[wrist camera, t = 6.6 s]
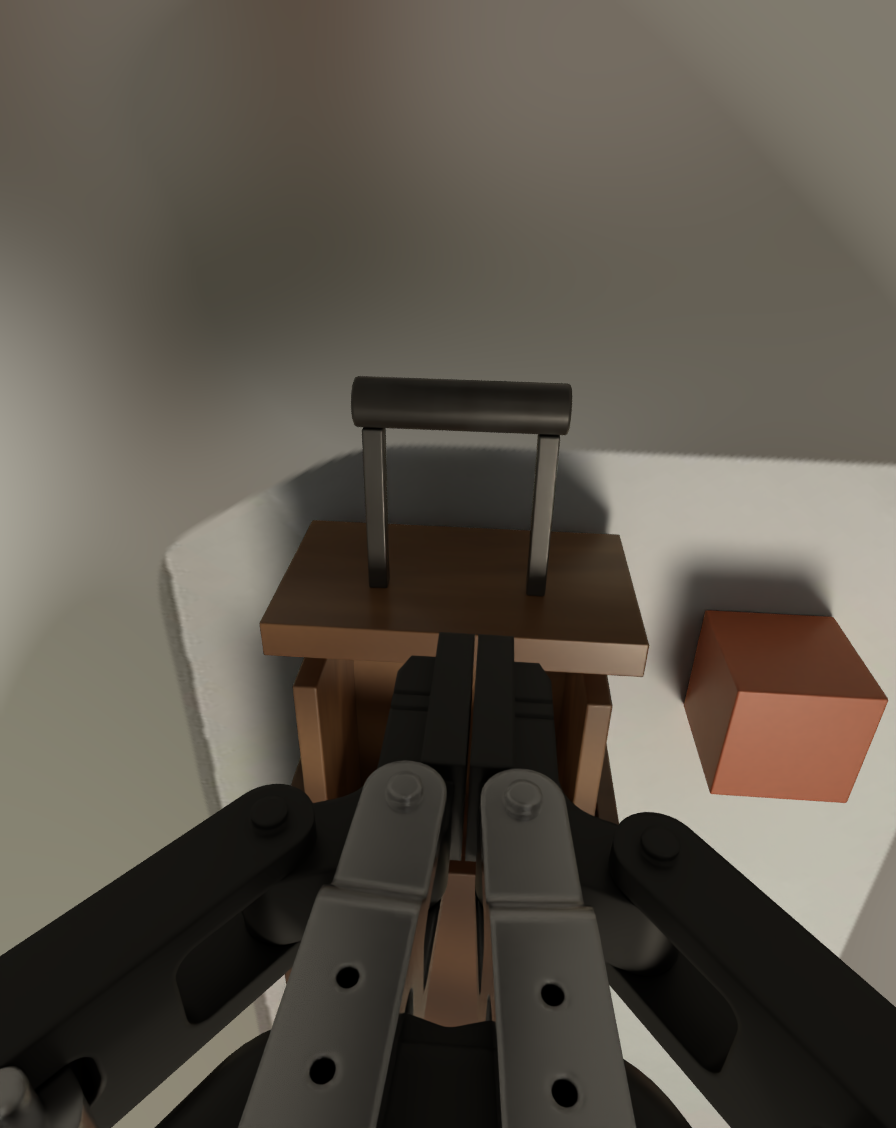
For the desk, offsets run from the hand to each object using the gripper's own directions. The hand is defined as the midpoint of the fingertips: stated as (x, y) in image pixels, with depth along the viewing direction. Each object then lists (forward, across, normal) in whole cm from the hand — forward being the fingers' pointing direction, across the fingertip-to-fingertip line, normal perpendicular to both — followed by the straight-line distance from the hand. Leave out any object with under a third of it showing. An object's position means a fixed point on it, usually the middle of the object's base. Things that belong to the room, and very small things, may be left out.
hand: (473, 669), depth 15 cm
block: (+13, -11, +9) cm, 20 cm away
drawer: (+13, +1, +7) cm, 14 cm away
